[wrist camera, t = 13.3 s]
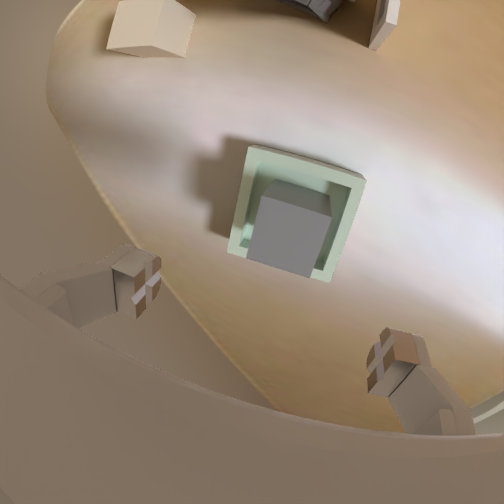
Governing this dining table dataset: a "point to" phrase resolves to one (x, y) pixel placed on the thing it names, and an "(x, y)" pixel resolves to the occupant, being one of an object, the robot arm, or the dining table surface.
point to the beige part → (151, 28)
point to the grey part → (290, 227)
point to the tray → (305, 175)
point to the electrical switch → (315, 7)
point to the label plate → (383, 21)
